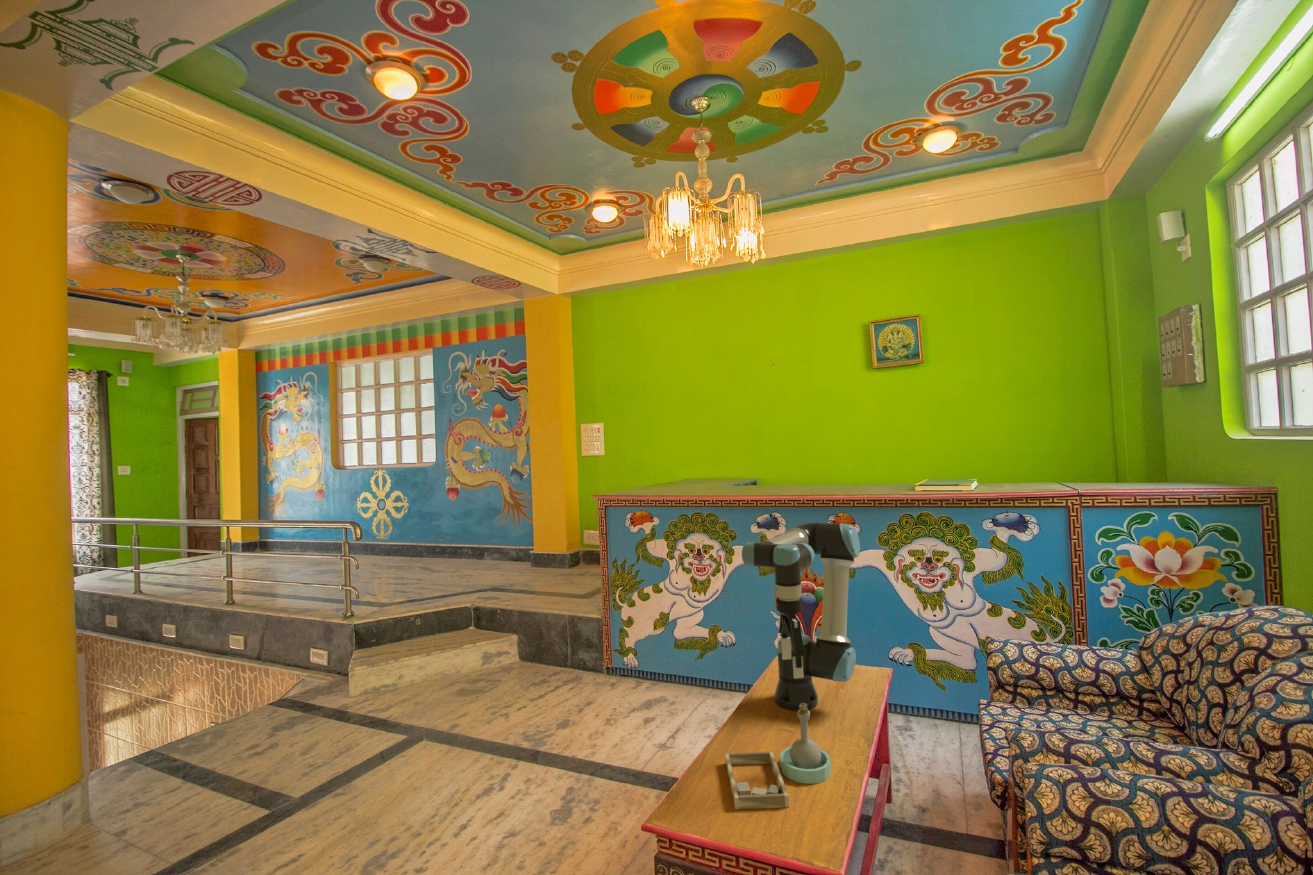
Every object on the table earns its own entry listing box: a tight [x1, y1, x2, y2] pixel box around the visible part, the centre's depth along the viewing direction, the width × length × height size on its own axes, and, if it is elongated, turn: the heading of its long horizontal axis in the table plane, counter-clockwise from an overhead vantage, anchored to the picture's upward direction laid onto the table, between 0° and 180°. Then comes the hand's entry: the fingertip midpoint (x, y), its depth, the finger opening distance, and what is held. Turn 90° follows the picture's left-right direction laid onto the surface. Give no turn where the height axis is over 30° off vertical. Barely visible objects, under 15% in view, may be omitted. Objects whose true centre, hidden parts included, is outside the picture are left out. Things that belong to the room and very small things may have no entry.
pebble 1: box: [751, 787, 768, 795], centre depth 160 cm, size 4×3×2 cm
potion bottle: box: [790, 703, 821, 769], centre depth 174 cm, size 9×9×18 cm
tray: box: [724, 750, 790, 810], centre depth 167 cm, size 22×14×3 cm, turn 0°
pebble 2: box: [767, 784, 781, 794], centre depth 161 cm, size 4×2×2 cm
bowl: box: [779, 745, 832, 785], centre depth 173 cm, size 14×14×4 cm
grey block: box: [736, 781, 752, 795], centre depth 163 cm, size 4×3×2 cm
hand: (792, 668), depth 180 cm, fingers open, 13 cm apart
